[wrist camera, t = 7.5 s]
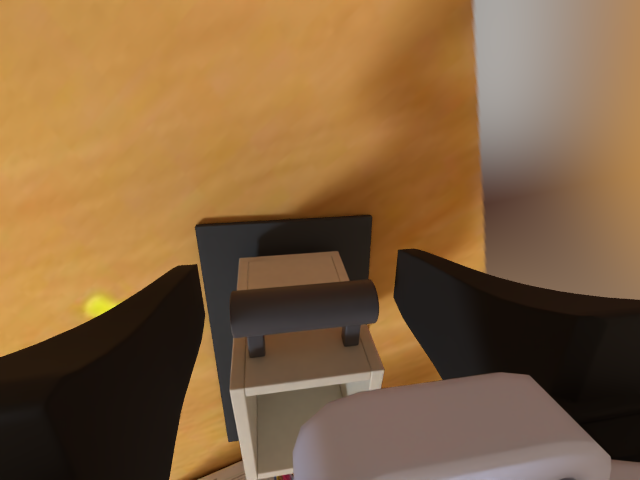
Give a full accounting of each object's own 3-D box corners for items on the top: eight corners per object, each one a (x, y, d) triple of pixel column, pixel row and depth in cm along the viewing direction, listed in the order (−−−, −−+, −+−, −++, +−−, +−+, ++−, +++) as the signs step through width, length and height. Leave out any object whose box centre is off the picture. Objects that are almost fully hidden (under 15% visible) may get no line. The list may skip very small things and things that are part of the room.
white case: (367, 460, 15) (396, 312, 10) (246, 481, 14) (217, 331, 10) (332, 331, 22) (340, 205, 17) (249, 341, 21) (233, 211, 16)
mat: (357, 417, 26) (359, 422, 26) (228, 437, 25) (228, 442, 24) (370, 214, 20) (372, 216, 19) (195, 224, 18) (194, 226, 18)
